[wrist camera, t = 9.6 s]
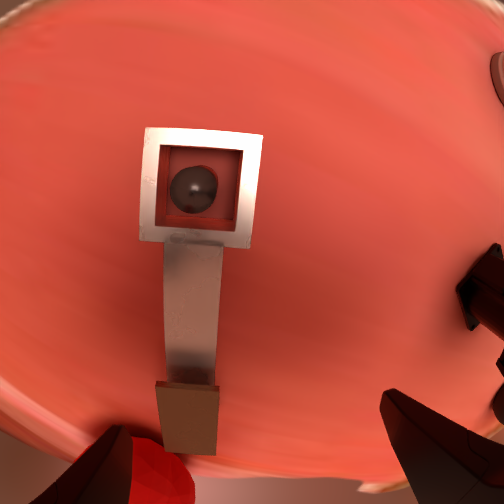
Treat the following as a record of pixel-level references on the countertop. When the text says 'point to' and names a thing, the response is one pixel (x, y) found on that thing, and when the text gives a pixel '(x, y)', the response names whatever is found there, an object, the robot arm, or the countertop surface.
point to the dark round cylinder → (194, 189)
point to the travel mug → (498, 74)
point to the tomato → (158, 475)
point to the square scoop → (194, 246)
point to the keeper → (188, 417)
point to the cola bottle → (499, 406)
